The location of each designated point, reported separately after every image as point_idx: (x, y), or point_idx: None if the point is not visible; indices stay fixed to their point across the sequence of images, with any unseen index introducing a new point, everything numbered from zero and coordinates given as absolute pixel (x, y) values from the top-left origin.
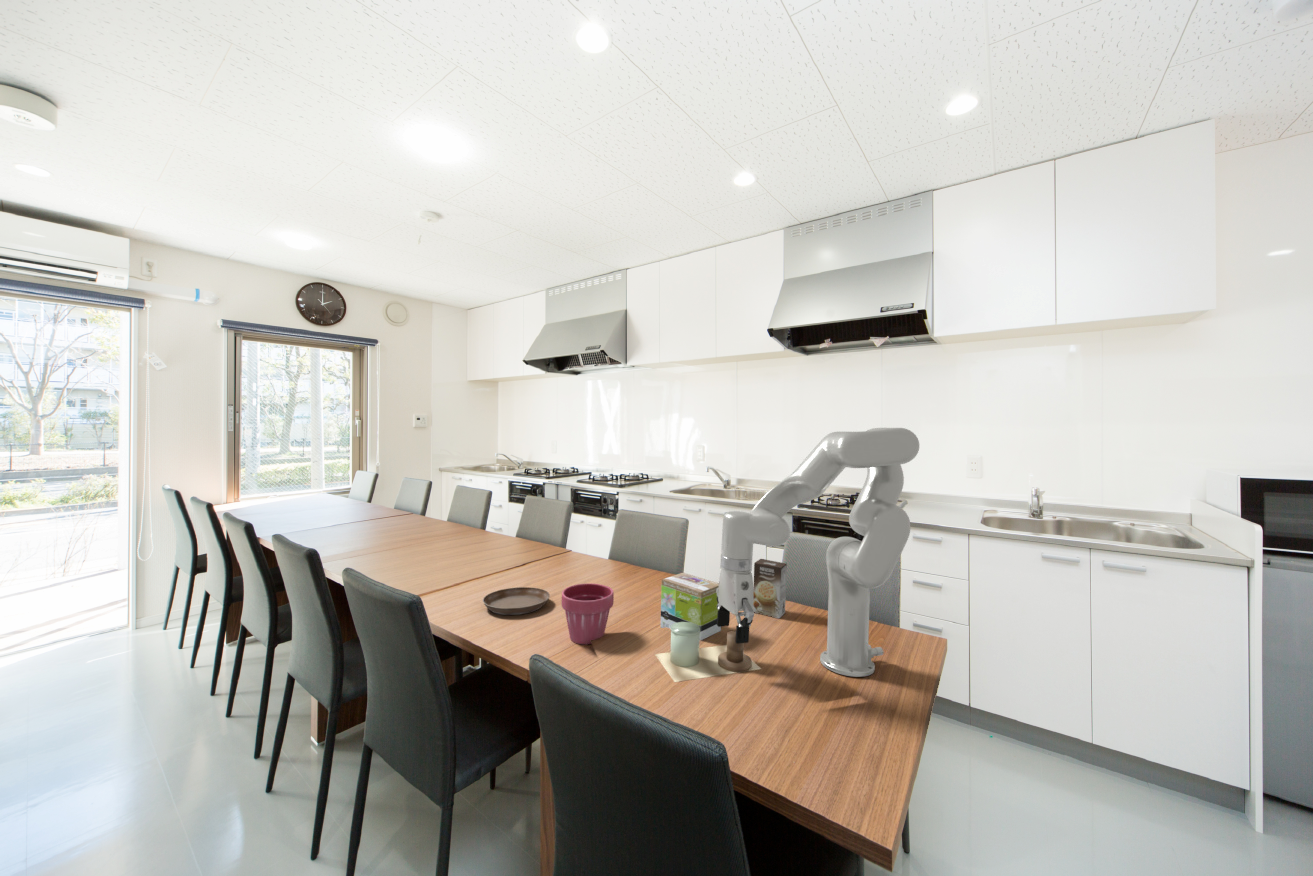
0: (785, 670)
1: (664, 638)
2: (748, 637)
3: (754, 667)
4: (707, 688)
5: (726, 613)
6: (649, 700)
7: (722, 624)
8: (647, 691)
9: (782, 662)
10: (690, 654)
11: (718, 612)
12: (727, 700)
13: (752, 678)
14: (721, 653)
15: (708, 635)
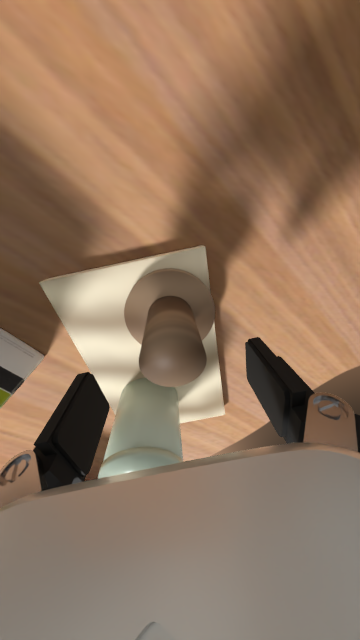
0: (190, 144)
1: (31, 411)
2: (267, 348)
3: (194, 264)
4: (236, 367)
5: (72, 438)
6: (246, 430)
7: (101, 401)
8: (224, 431)
9: (130, 124)
10: (178, 415)
11: (86, 473)
12: (282, 345)
13: (219, 276)
14: (138, 341)
15: (2, 343)
